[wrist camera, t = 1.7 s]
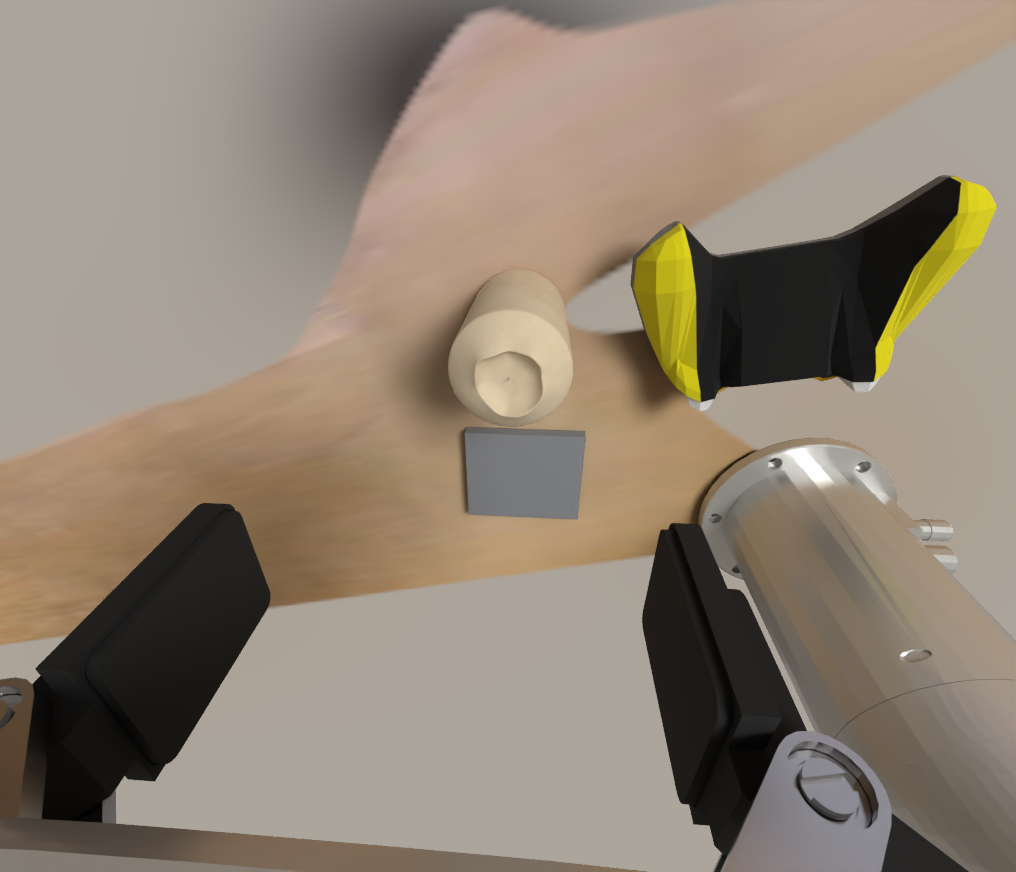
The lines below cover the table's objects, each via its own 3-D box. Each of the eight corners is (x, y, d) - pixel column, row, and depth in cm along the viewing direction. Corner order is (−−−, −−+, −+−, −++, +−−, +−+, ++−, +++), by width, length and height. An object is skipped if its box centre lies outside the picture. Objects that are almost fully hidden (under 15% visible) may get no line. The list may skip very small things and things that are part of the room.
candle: (454, 311, 28) (414, 379, 20) (523, 246, 26) (512, 289, 17) (515, 376, 30) (503, 464, 21) (584, 320, 28) (602, 392, 19)
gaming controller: (621, 219, 25) (629, 389, 30) (638, 234, 20) (644, 432, 25) (934, 164, 23) (888, 356, 28) (1035, 167, 18) (958, 397, 23)
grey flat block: (584, 431, 32) (585, 437, 31) (576, 512, 35) (577, 519, 35) (466, 427, 32) (464, 432, 31) (470, 507, 36) (468, 514, 35)
